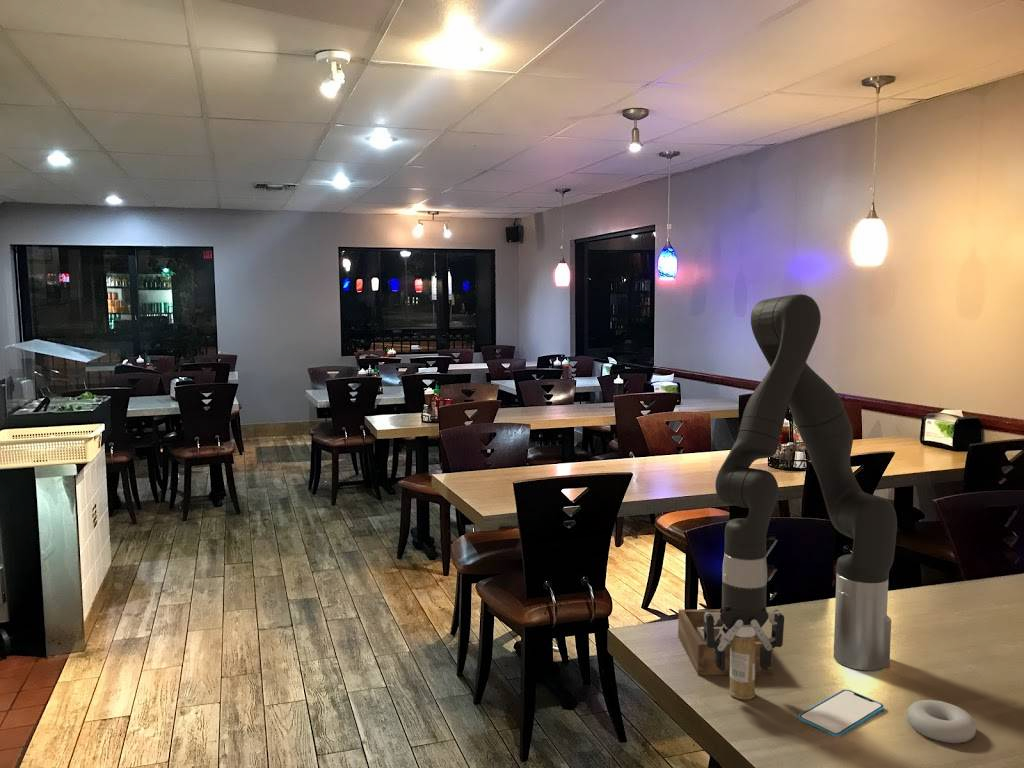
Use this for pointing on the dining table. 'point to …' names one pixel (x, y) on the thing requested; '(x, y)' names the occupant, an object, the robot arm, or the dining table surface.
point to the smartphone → (841, 712)
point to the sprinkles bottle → (743, 663)
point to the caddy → (700, 652)
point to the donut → (941, 721)
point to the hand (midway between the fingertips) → (742, 668)
